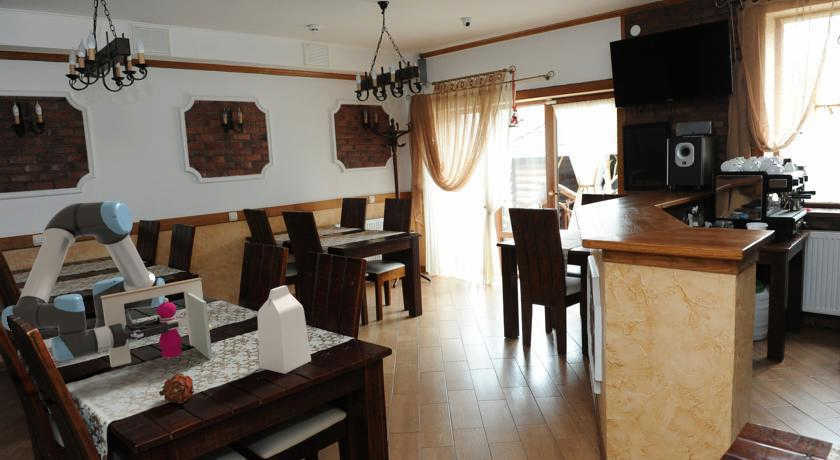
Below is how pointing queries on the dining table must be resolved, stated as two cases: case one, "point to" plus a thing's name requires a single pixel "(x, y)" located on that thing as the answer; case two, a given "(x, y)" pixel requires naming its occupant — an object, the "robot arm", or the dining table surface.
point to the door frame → (115, 302)
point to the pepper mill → (172, 339)
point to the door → (199, 324)
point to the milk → (282, 332)
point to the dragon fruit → (177, 389)
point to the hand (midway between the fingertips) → (183, 320)
